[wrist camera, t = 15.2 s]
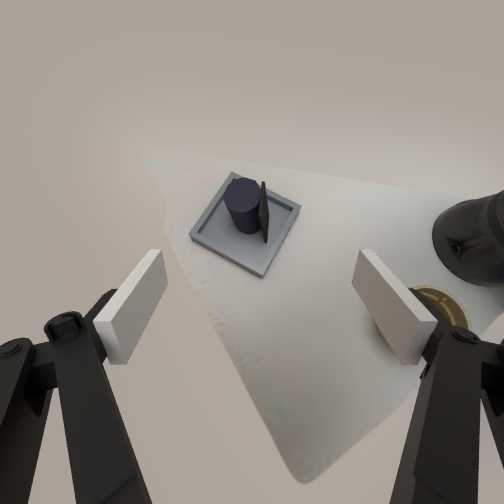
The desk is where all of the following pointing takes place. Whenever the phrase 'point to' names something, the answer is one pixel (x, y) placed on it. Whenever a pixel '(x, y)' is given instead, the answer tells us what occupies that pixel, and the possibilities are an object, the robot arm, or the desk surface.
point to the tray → (241, 244)
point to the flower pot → (444, 306)
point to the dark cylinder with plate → (248, 206)
